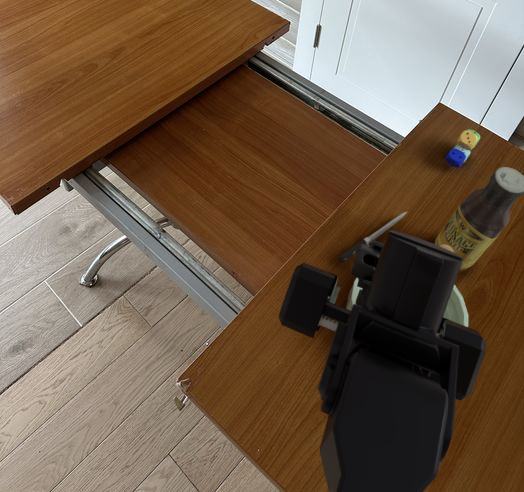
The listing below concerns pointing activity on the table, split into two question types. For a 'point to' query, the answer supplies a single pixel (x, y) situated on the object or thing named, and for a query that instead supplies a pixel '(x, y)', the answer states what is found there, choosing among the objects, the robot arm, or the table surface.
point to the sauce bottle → (482, 216)
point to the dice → (463, 148)
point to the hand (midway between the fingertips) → (376, 305)
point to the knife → (369, 239)
